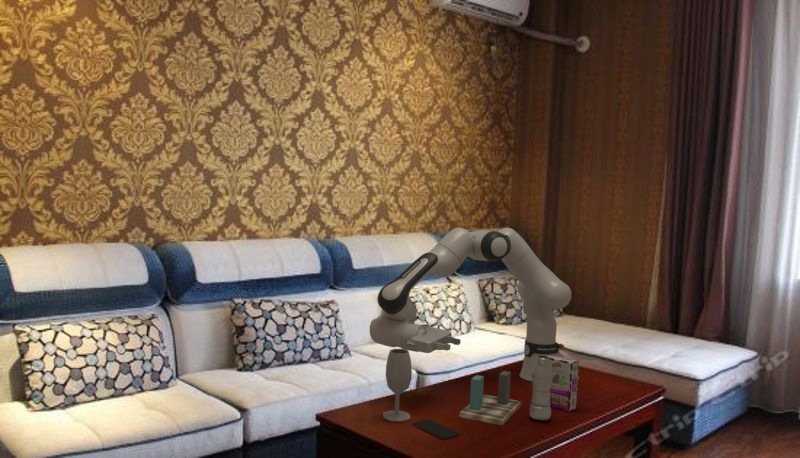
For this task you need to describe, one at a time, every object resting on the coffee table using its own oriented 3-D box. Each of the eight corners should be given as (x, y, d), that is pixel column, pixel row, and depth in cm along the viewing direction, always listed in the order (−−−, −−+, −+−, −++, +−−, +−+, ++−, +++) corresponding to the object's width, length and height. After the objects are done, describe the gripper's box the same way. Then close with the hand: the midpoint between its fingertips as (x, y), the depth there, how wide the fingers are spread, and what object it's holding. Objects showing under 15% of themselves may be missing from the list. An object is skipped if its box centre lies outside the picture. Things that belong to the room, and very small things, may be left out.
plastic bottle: (550, 424, 217) (554, 360, 215) (528, 421, 218) (532, 358, 217) (550, 417, 223) (554, 355, 222) (529, 414, 224) (532, 353, 223)
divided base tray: (459, 416, 219) (459, 409, 219) (480, 398, 238) (481, 392, 238) (502, 425, 214) (502, 418, 213) (521, 406, 232) (521, 399, 232)
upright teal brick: (469, 409, 221) (471, 378, 220) (474, 405, 226) (476, 375, 225) (477, 411, 220) (478, 380, 219) (482, 407, 225) (483, 376, 224)
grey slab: (497, 404, 228) (499, 374, 227) (501, 400, 232) (503, 370, 231) (504, 406, 226) (506, 375, 226) (509, 401, 231) (511, 372, 230)
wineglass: (378, 414, 218) (381, 348, 217) (403, 411, 222) (406, 346, 220) (388, 424, 210) (391, 355, 209) (415, 421, 214) (418, 353, 212)
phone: (428, 418, 216) (461, 433, 204) (428, 421, 216) (461, 436, 204) (409, 423, 211) (442, 438, 199) (409, 425, 211) (442, 441, 199)
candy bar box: (576, 409, 232) (580, 360, 231) (569, 412, 229) (572, 363, 228) (547, 400, 240) (550, 353, 239) (539, 403, 236) (542, 355, 235)
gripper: (403, 333, 220) (444, 341, 215) (427, 323, 239) (465, 330, 233) (401, 353, 221) (442, 361, 215) (426, 341, 240) (464, 348, 234)
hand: (454, 345), depth 225 cm, fingers open, 8 cm apart
